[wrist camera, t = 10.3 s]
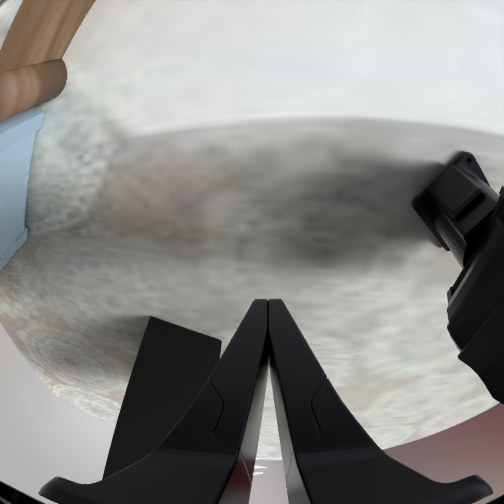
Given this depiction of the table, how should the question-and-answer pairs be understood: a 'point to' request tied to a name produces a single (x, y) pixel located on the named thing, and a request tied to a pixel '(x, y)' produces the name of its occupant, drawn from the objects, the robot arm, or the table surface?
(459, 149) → the table surface
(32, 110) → the gate
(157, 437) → the black pillar candle
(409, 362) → the table surface
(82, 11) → the pen fence
